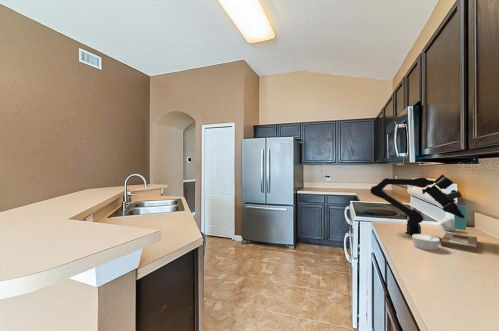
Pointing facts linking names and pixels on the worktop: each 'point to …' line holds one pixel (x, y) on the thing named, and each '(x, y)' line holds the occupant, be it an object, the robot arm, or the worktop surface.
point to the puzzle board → (459, 242)
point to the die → (447, 224)
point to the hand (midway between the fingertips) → (463, 216)
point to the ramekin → (425, 242)
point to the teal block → (458, 221)
